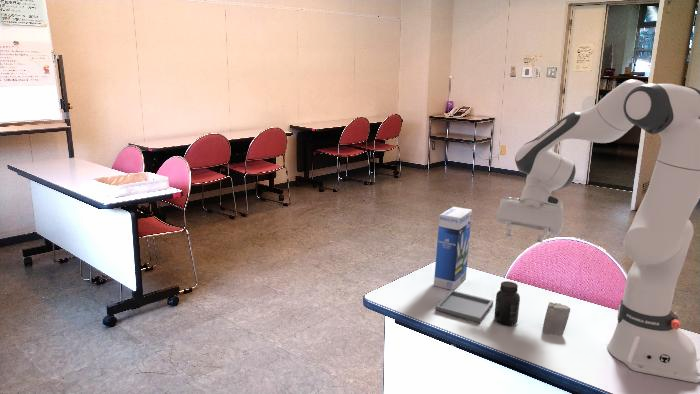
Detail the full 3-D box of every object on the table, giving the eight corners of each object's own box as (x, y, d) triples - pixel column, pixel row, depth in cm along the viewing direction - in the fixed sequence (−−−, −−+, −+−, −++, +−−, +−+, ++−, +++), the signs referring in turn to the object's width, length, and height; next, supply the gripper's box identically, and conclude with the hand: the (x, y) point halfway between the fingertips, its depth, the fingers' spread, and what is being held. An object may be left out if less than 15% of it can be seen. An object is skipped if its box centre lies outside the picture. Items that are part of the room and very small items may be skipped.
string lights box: (453, 291, 177) (459, 218, 170) (432, 285, 180) (438, 214, 174) (466, 278, 188) (473, 209, 181) (446, 273, 191) (452, 205, 185)
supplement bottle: (514, 316, 160) (519, 280, 157) (519, 327, 154) (524, 290, 151) (491, 315, 161) (495, 278, 158) (495, 325, 154) (499, 288, 151)
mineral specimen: (575, 334, 150) (573, 309, 148) (544, 338, 151) (542, 313, 148) (566, 320, 157) (564, 296, 155) (536, 324, 158) (534, 301, 155)
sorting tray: (492, 305, 167) (493, 300, 167) (479, 323, 155) (480, 318, 155) (450, 295, 174) (451, 290, 173) (435, 311, 162) (435, 306, 161)
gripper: (501, 190, 171) (489, 227, 165) (567, 201, 161) (557, 240, 156) (503, 201, 176) (491, 236, 170) (567, 211, 166) (558, 249, 160)
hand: (523, 238), depth 163 cm, fingers open, 8 cm apart
